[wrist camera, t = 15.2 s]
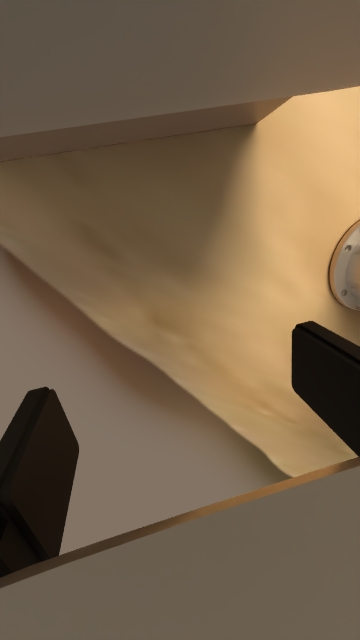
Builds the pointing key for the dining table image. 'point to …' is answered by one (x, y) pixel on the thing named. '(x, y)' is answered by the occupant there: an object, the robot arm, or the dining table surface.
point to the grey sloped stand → (135, 129)
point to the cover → (166, 56)
